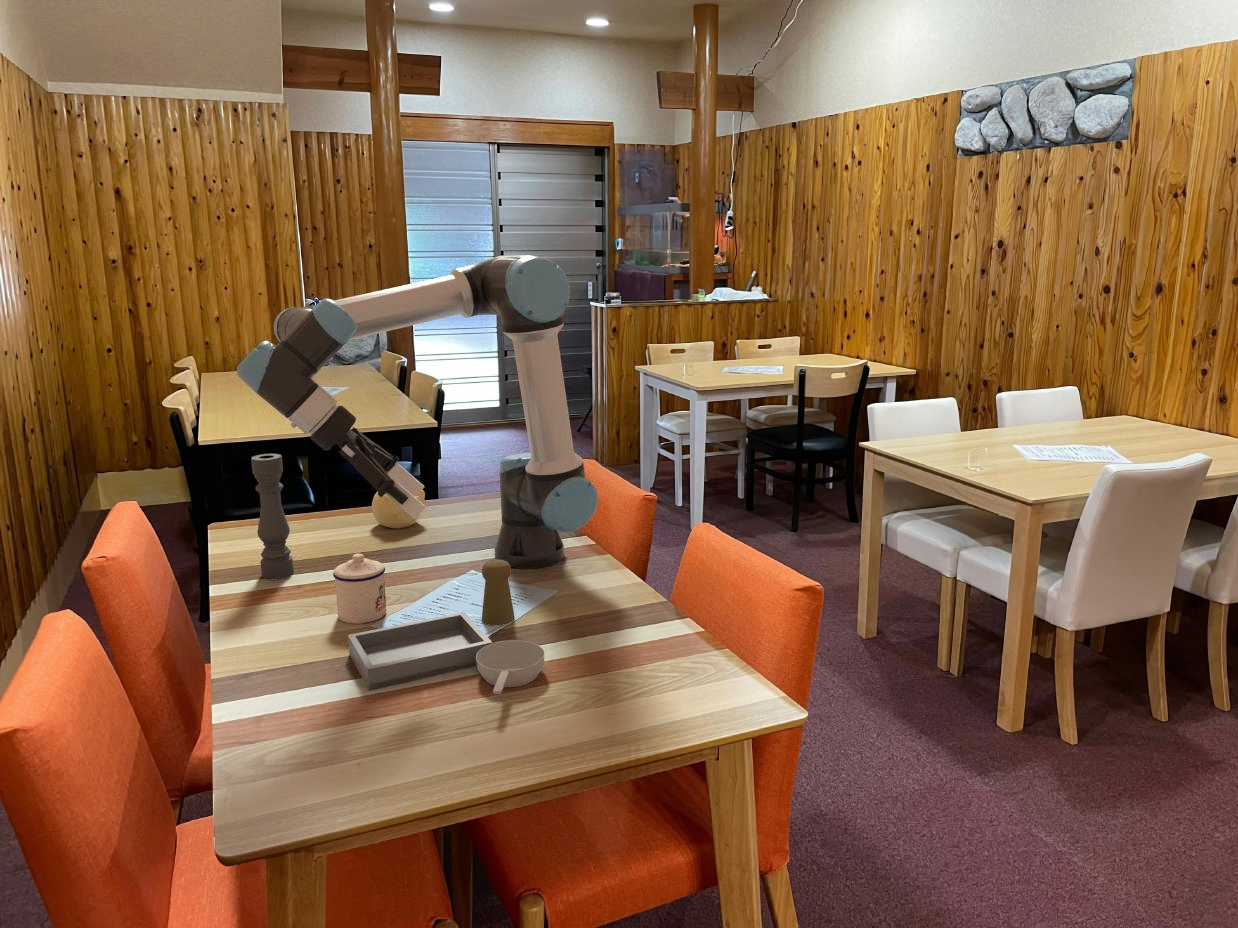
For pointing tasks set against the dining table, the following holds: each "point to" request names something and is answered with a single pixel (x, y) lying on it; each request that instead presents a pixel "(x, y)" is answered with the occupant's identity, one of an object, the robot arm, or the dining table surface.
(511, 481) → the robot arm
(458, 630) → the tray
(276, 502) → the candle holder
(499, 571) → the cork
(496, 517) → the dining table surface
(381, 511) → the pale yellow lumpy ball
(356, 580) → the teacup with lid
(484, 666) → the saucepan
